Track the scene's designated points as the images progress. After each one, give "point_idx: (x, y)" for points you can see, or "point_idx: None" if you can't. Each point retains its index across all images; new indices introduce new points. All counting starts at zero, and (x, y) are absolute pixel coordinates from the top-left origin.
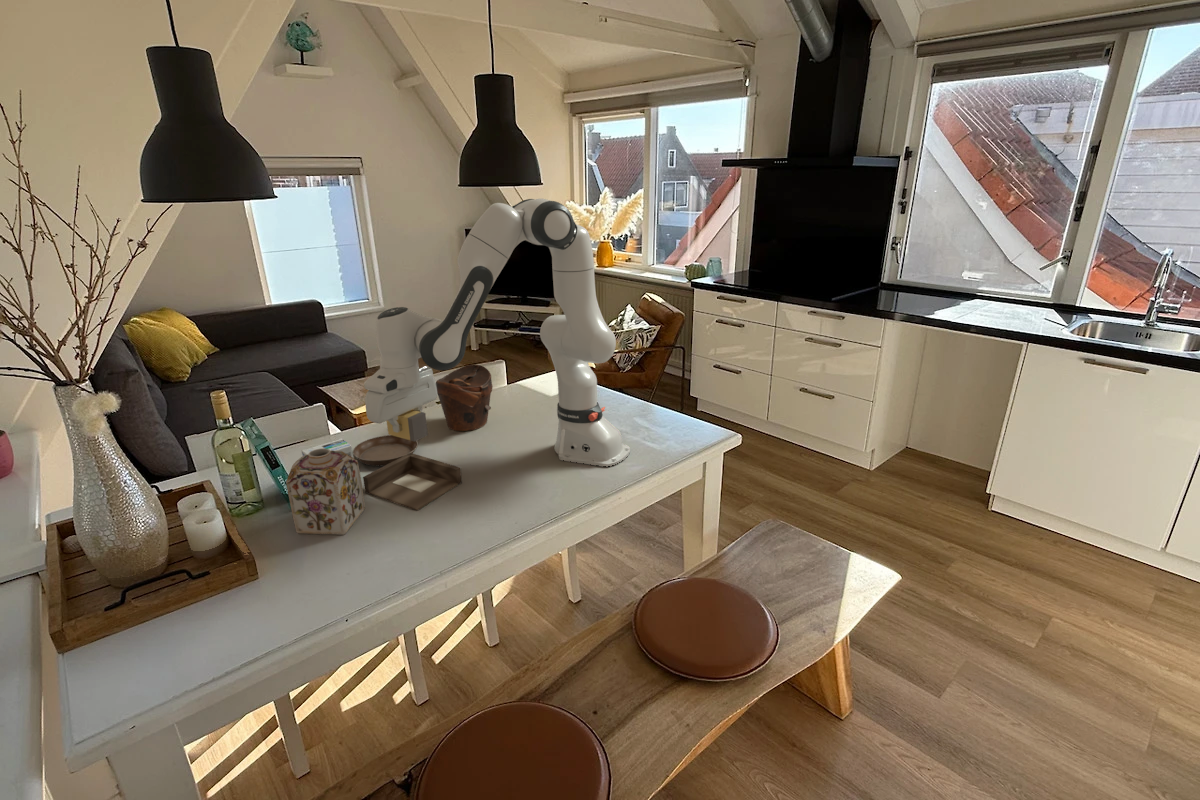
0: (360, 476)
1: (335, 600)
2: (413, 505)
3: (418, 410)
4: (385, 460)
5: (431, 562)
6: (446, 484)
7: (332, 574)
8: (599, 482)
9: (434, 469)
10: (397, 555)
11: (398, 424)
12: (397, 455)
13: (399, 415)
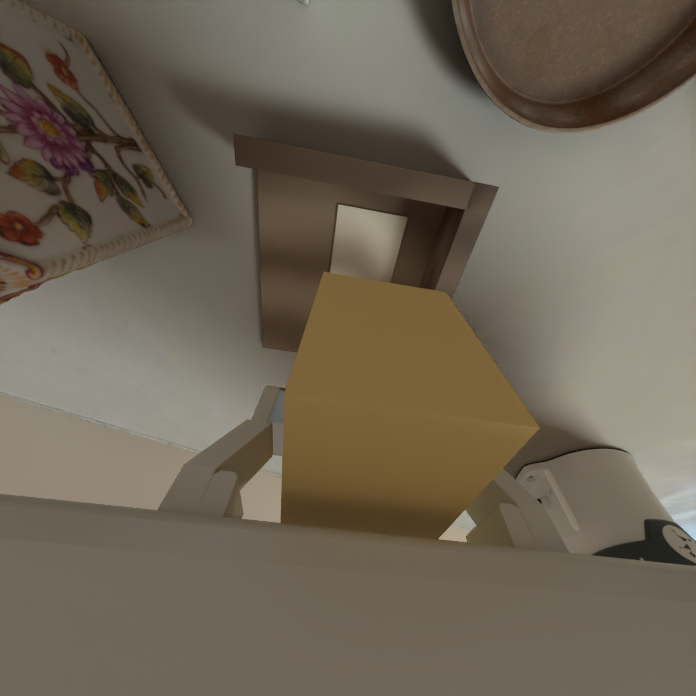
0: (111, 255)
1: (14, 371)
2: (270, 333)
3: (481, 519)
4: (464, 51)
5: (174, 428)
6: None
7: (25, 329)
8: None
9: None
10: (146, 386)
11: (261, 463)
12: (593, 10)
13: (290, 515)
